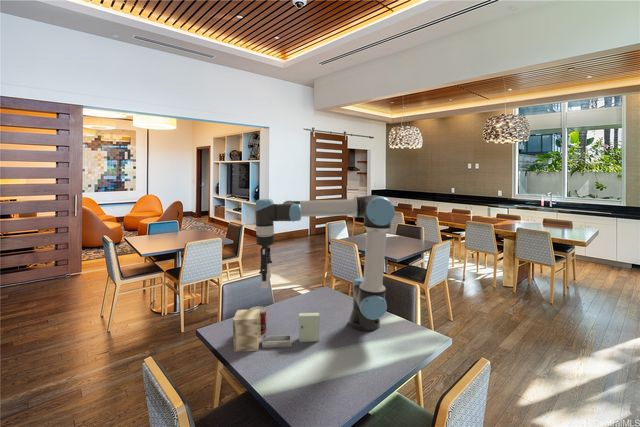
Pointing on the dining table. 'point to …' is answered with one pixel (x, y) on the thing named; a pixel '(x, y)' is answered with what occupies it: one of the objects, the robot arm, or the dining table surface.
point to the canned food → (261, 318)
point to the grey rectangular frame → (277, 341)
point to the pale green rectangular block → (308, 327)
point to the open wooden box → (246, 330)
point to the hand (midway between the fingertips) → (266, 282)
